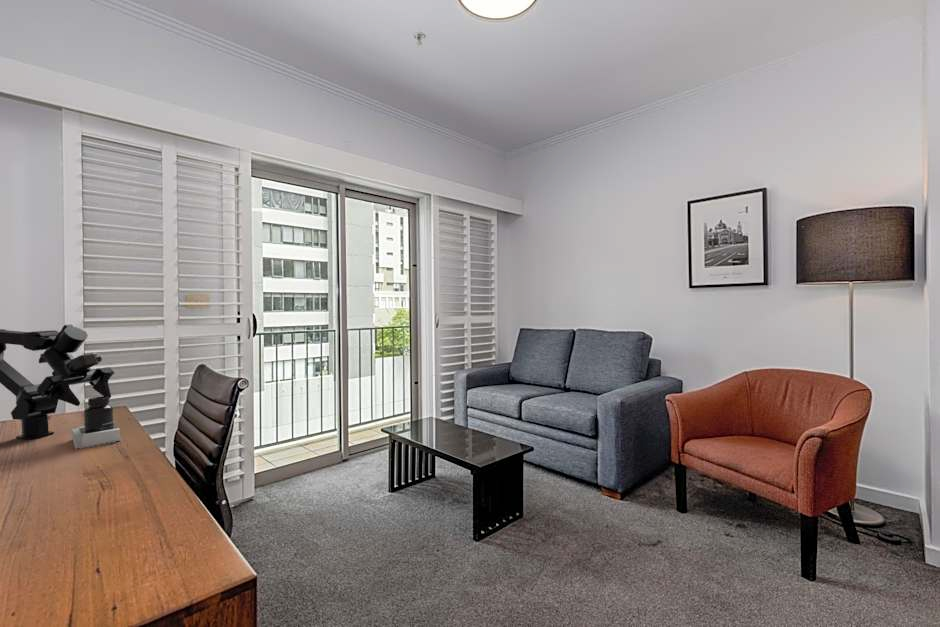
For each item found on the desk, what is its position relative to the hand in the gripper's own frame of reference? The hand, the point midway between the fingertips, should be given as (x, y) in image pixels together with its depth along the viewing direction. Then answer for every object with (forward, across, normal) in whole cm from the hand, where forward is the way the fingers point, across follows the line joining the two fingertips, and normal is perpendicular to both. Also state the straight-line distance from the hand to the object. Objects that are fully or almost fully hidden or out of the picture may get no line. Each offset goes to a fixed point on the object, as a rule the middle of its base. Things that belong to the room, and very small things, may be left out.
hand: (94, 401), depth 136 cm
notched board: (+9, 0, +7) cm, 12 cm away
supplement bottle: (+9, 0, +7) cm, 11 cm away
